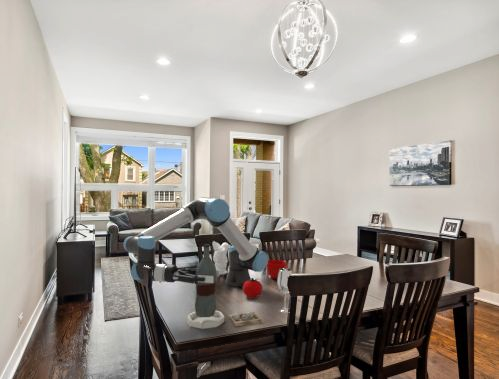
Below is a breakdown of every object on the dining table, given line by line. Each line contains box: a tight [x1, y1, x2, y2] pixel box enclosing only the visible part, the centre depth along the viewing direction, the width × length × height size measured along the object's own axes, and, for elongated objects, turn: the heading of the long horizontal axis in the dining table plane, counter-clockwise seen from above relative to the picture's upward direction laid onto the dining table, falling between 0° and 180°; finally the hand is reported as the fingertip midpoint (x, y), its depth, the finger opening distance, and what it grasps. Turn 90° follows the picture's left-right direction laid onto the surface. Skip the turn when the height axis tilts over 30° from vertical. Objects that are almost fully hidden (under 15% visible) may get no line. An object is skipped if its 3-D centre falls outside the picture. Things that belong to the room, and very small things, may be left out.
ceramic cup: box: [265, 259, 289, 280], centre depth 216 cm, size 13×17×10 cm
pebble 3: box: [246, 311, 254, 319], centre depth 148 cm, size 3×3×3 cm
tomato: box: [242, 277, 263, 299], centre depth 179 cm, size 10×10×10 cm
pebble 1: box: [233, 312, 240, 321], centre depth 146 cm, size 3×3×3 cm
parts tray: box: [227, 311, 262, 327], centre depth 146 cm, size 12×9×2 cm
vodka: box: [194, 243, 217, 317], centre depth 145 cm, size 9×9×30 cm
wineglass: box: [276, 267, 293, 313], centre depth 159 cm, size 8×8×20 cm
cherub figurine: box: [212, 240, 230, 276], centre depth 224 cm, size 12×12×22 cm
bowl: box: [186, 310, 225, 330], centre depth 145 cm, size 15×15×3 cm
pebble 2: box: [241, 315, 248, 321], centre depth 145 cm, size 3×3×3 cm
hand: (216, 276), depth 144 cm, fingers closed on vodka, 9 cm apart
